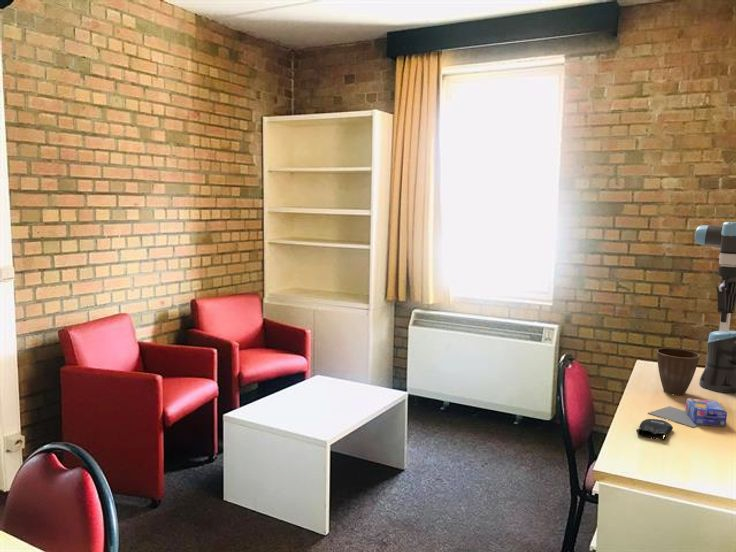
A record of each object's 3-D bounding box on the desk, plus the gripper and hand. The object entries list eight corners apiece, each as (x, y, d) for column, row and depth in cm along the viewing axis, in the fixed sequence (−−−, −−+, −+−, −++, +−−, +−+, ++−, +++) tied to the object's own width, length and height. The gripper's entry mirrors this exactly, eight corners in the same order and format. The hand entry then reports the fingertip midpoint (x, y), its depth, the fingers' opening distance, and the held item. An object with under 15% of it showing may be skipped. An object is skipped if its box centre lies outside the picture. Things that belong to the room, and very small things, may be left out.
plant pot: (702, 399, 242) (707, 358, 240) (663, 397, 242) (666, 356, 240) (684, 387, 256) (688, 348, 254) (647, 386, 257) (650, 347, 255)
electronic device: (668, 447, 197) (674, 427, 209) (667, 431, 196) (673, 411, 208) (636, 444, 202) (644, 424, 214) (634, 428, 201) (642, 409, 213)
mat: (669, 407, 231) (669, 406, 231) (714, 420, 219) (714, 419, 218) (647, 413, 223) (647, 412, 223) (693, 427, 210) (693, 426, 210)
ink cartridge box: (717, 400, 222) (730, 414, 208) (715, 415, 223) (728, 431, 209) (686, 397, 224) (697, 411, 210) (684, 412, 225) (695, 427, 211)
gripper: (728, 263, 233) (722, 327, 236) (710, 265, 225) (704, 330, 228) (750, 266, 227) (743, 331, 230) (732, 267, 219) (726, 334, 222)
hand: (724, 330), depth 229 cm, fingers closed
